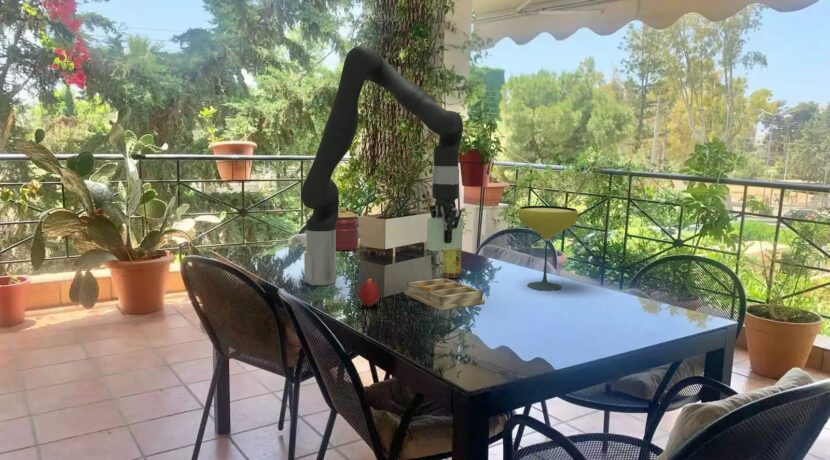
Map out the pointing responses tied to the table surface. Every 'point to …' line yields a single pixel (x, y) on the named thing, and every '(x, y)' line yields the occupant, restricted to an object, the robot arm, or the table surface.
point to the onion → (369, 293)
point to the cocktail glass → (547, 231)
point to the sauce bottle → (451, 263)
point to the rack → (444, 294)
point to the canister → (346, 230)
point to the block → (442, 235)
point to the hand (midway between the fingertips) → (444, 241)
